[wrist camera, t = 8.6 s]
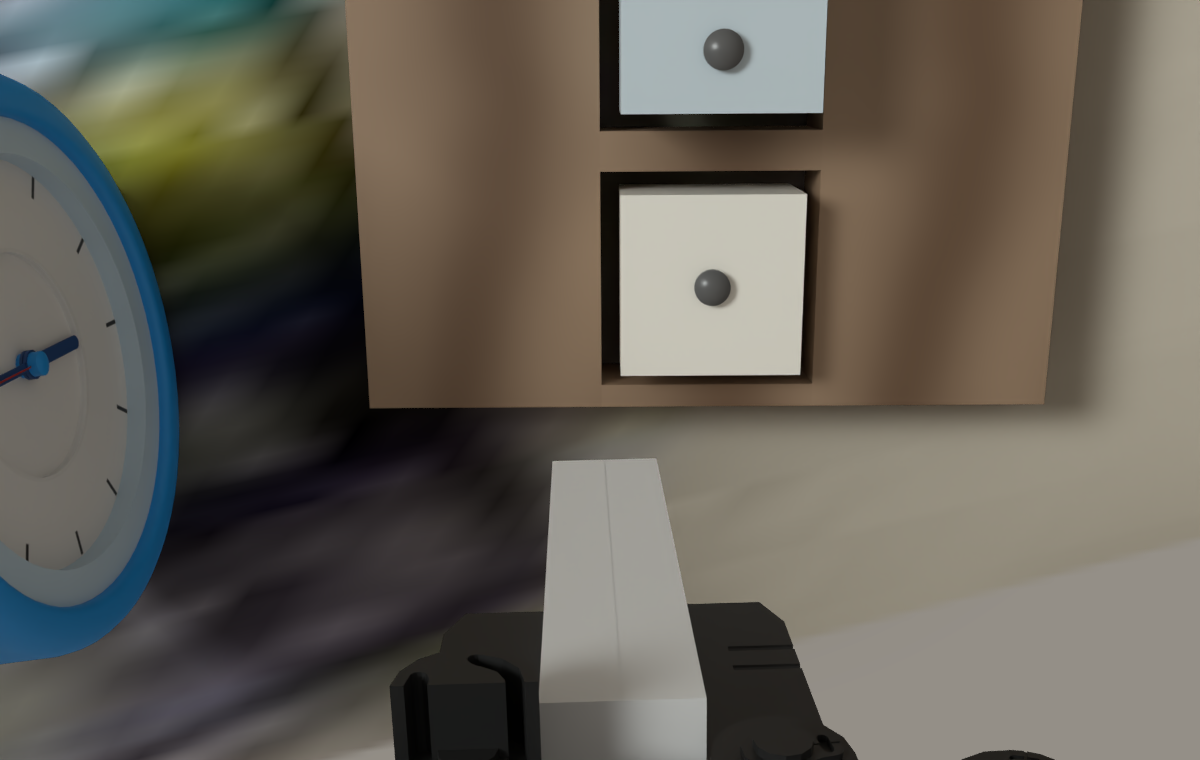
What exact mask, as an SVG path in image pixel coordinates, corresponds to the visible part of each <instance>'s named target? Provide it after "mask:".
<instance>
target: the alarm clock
mask: <svg viewBox="0 0 1200 760" xmlns="http://www.w3.org/2000/svg"><path fill="white" fill-rule="evenodd" d="M178 458H179V408H178V392H177V382H176V372H175V365H174V357H173V350H172V345H171V339H170V334H169V328H168V324H167V319H166V315H165V310H164V306H163V302H162V298H161V295H160V291H159V287H158V284H157V281H156V277H155V274H154V271H153V268H152V264H151V262H150V259H149V256H148V253H147V250H146V248H145V245H144V242H143V240H142V237H141V235H140V232H139V230H138V228H137V225H136V223H135V221H134V219H133V216H132V214H131V212H130V210H129V208H128V206H127V204H126V202H125V200H124V198H123V196H122V194H121V192H120V190H119V188H118V187H117V185H116V183H115V181H114V180H113V178H112V176H111V175H110V173H109V171H108V170H107V168H106V167H105V165H104V164H103V162H102V161H101V159H100V158H99V156H98V155H97V153H96V152H95V151H94V150H93V148H92V147H91V146H90V144H89V143H88V142H87V140H86V139H85V138H84V137H83V135H82V134H81V133H80V132H79V131H78V129H77V128H76V127H75V126H74V125H73V124H72V123H71V122H70V121H69V119H68V118H67V117H66V116H65V115H63V114H62V113H61V112H60V111H59V110H58V109H57V108H56V107H55V106H54V105H53V104H51V103H50V102H49V101H48V100H46V99H45V98H44V97H42V96H41V95H40V94H38V93H37V92H35V91H33V90H32V89H30V88H28V87H27V86H25V85H23V84H21V83H19V82H17V81H15V80H13V79H10V78H8V77H6V76H4V75H1V74H0V664H6V663H14V662H22V661H29V660H37V659H45V658H52V657H59V656H62V655H65V654H69V653H72V652H75V651H78V650H81V649H83V648H85V647H87V646H89V645H91V644H93V643H95V642H97V641H98V640H99V639H101V638H102V637H103V636H105V635H106V634H107V633H109V632H110V631H111V630H112V629H113V628H114V627H115V626H116V625H117V624H118V623H119V622H120V621H121V620H122V619H123V618H124V617H125V616H126V615H127V614H128V613H129V612H130V610H131V609H132V608H133V606H134V605H135V604H136V602H137V601H138V599H139V598H140V596H141V594H142V593H143V591H144V589H145V588H146V586H147V584H148V582H149V580H150V578H151V575H152V573H153V571H154V568H155V566H156V563H157V561H158V558H159V556H160V553H161V550H162V547H163V544H164V541H165V537H166V534H167V531H168V526H169V522H170V518H171V514H172V508H173V502H174V497H175V489H176V481H177V472H178Z"/></svg>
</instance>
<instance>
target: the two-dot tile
mask: <svg viewBox="0 0 1200 760" xmlns="http://www.w3.org/2000/svg"><path fill="white" fill-rule="evenodd" d="M827 3H828V0H619V111H620V113H621V114H738V113H823V99H824V75H825V51H826V27H827Z"/></svg>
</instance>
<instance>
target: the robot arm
mask: <svg viewBox="0 0 1200 760" xmlns="http://www.w3.org/2000/svg"><path fill="white" fill-rule="evenodd" d="M390 697H391V710H392V723H393V736H394V749H395V760H858V759H857V756H856V754H855V752H854V751H853V749H852V748H851V747H850V745H849V744H848V743H847V741H846V740H845V739H844V738H843V737H842V736H840V735H839V734H837V733H835V732H834V731H832V730H831V729H829V728H827V727H826V726H824V725H823V723H822V721H821V718H820V715H819V713H818V710H817V708H816V705H815V702H814V700H813V697H812V695H811V692H810V689H809V687H808V684H807V681H806V678H805V676H804V673H803V671H802V668H800V663H799V660H798V658H797V655H796V652H795V649H793V644H792V642H791V639H790V636H789V634H788V631H787V628H786V626H785V623H784V621H783V620H781V619H780V618H779V617H777V616H776V615H775V614H774V613H772V612H771V611H770V610H769V609H767V608H766V607H765V606H763V605H762V604H761V603H760V602H748V603H714V604H687V602H686V597H685V592H684V587H683V583H682V578H681V573H680V568H679V564H678V559H677V554H676V549H675V545H674V540H673V535H672V530H671V525H670V521H669V516H668V511H667V506H666V502H665V497H664V492H663V487H662V482H661V478H660V473H659V468H658V463H657V459H656V458H648V459H611V460H574V461H553V462H552V479H551V496H550V513H549V530H548V547H547V564H546V581H545V598H544V612H512V613H477V614H465V615H464V616H463V617H462V618H461V619H460V620H459V621H458V622H457V623H456V624H455V625H454V626H453V627H452V628H451V629H449V630H448V631H447V632H446V633H445V634H444V636H443V641H442V645H441V649H440V653H437V654H434V655H431V656H428V657H425V658H422V659H419V660H417V661H415V662H414V663H412V664H411V665H409V666H408V667H406V668H404V669H403V670H401V671H400V672H399V673H398V675H397V676H396V678H395V679H394V681H393V682H392V684H391V685H390ZM962 760H1054V759H1051V758H1049V757H1046V756H1044V755H1041V754H1036V753H1031V752H1027V753H1026V752H1024V751H1016V750H1007V751H988V752H982V753H979V754H976V755H974V756H970V757H968V758H965V759H962Z"/></svg>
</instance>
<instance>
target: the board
mask: <svg viewBox="0 0 1200 760" xmlns="http://www.w3.org/2000/svg"><path fill="white" fill-rule="evenodd" d="M1082 4H1083V0H828V3H827V27H826V51H825V75H824V99H823V113H807V126H701V127H600V52H599V0H345V9H346V25H347V41H348V58H349V74H350V91H351V107H352V123H353V140H354V156H355V172H356V189H357V205H358V221H359V238H360V254H361V271H362V287H363V303H364V320H365V336H366V352H367V369H368V385H369V401H370V408H483V407H652V406H820V405H988V404H1044V399H1045V389H1046V379H1047V368H1048V358H1049V347H1050V337H1051V326H1052V316H1053V306H1054V295H1055V285H1056V274H1057V264H1058V254H1059V243H1060V233H1061V222H1062V212H1063V201H1064V191H1065V181H1066V170H1067V160H1068V149H1069V139H1070V129H1071V118H1072V108H1073V97H1074V87H1075V76H1076V66H1077V56H1078V45H1079V35H1080V24H1081V14H1082ZM785 170H805V181H804V193H806V194H807V211H806V237H805V262H804V288H803V314H802V340H801V365H800V375H698V376H621V371H620V363H602V338H601V195H600V172H642V171H785Z"/></svg>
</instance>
